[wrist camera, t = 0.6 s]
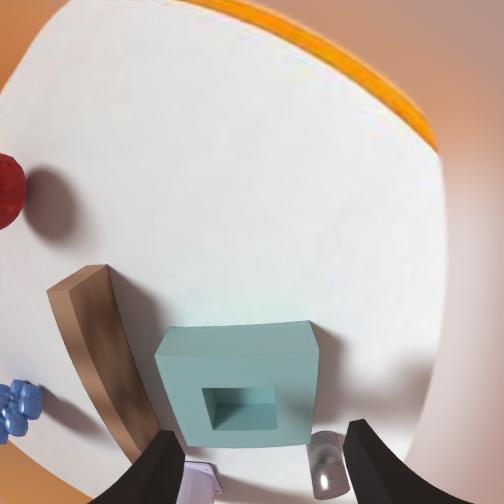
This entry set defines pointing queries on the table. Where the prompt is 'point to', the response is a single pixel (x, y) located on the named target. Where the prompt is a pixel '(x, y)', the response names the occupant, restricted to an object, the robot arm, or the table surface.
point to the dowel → (326, 466)
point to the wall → (104, 356)
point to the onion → (11, 190)
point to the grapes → (18, 408)
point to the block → (241, 383)
